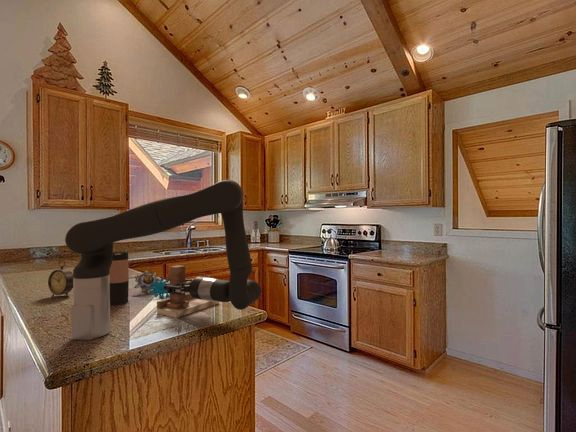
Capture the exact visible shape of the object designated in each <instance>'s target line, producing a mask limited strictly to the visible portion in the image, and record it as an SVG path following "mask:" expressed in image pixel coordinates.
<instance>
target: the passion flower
mask: <svg viewBox="0 0 576 432" xmlns="http://www.w3.org/2000/svg"><path fill="white" fill-rule="evenodd" d="M155 279H158V283H159V282H160V281H161V277H160V276H157V272H156V271H155V272H153V273H151V272H149V271H148V269H147V270H145V271H144V272H143V273H141V274H140V275H139V274H136V276H134V281H135V282H136V283H137V284H135V285H134V287H133V288H134V289H138V288H140V290H141V293H147V295H149V294H151V291H152V289H151V290H150V286H152V287H153V288H155V287H154V286H153V285H151V283H152V282H154V284H155V285H156V282H155Z"/></svg>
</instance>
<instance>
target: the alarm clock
mask: <svg viewBox="0 0 576 432" xmlns="http://www.w3.org/2000/svg"><path fill="white" fill-rule="evenodd" d="M61 261H63V263H64V264H63V265H61V264H60V263H61ZM58 266H60V269H54V270H53V271H52V272H51V273H50V274H49V276H48V279H47V284H48V289H49V291H50V292H51V293H52V297H54V296H61V295H65V296H66V298H69V294H68V293H70V292H71V291H73V271H71V270H70V269H67V268H64V267H65V266H66V261H65V260H64V259H60V260H59V261H58Z"/></svg>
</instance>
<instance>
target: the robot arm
mask: <svg viewBox="0 0 576 432" xmlns="http://www.w3.org/2000/svg"><path fill="white" fill-rule="evenodd" d="M243 200H244V191H243V189H242V187H241V185H240V184H239V183H238V182H237V181H234V180H232V179H224V180H220V181H217V182H216V183H214V184H212V185H209V186H207V187H205V188H203V189H200V190H198V191H194V192H192V193H189V194H183V195H177V196H171V197H165V198H161V199H157V200H154V201H151V202H147V203H145V204H144V203H143V204H141V205H139V206H136V207H133V208H130V209H128V210H124V211H122V212H120V213H118V214H114V215H112V216H107V217H104V218H100V219H95V220H90V221H84V222H83V221H82V222H79V223H76V224H74V225H73V226H71V228H69V230H67V232H66V235H65V239H64V243H65V245H66V247H67V248H68V249H69V250H70V251H72V252H74V253H76V254H80V255H81V256H80V261H79V262H78V263H77V264H76V265H75V266H74V268H73V269H72V270H73V271H72V273H73V289H72V292H73V293H72V296H73V297H72V298H73V305H71V307H70V332H71V333H70V334H71V335H70V338H71V340H81V341H82V340H84V341H85V340H87V341H88V340H89V341H90V340H94V339H97V338H100V337H103V336H106V335H107V334H109V333H110V332H111V305H110V267H111V265H112V259H113V253H114V243H116V242H120V241H124V240H131V239H137V238H143V237H147V236H153V235H156V234H159V233H162V232H167V231H170V230H172V229H175V228H178V227H180V226H182V225H186V224H188V223H189V222H192V221H194V220H196V219H200V218H204V217H208V216H214V215H218V214H221V217H222V222H223V228H224V235H225V236H224V237H225V238H224V239H225V249H226V259H227V263H228V268H229V269H228V270H229V280H226V279H218V278H214V277H208V276H206V277H205V276H196V277H194V278H192V279H190V278H189V279H187V278H185V282H179V283H177V284H169V283H170V282H168V283H165V284H164V290H167V293H168V294H170V293H171V294H178V295H180V294H181V293H190V294H191V296H192V297H193V298H196V299H201V300H207V301H218V302H219V303H229V302H230V303H231V305H232V307H233V308H234V309H236V310H239V311H242V310H245V309H247V308H249V307H250V306H251V305H252V304H254V303H255V302H257V300H260V298H261V295H262V287H261V285H260V284H259V283H258V282H257V281H256V280H252V279H249V277H250V276H251V274H252V273H253V262H252V258H251V254H250V247H249V243H248V239H247V233H246V229H245V228H246V227H245V221H244V210H243V209H244V205H243V204H244V202H243ZM181 284H183V285H182V288H181V287H180V285H181Z"/></svg>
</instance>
